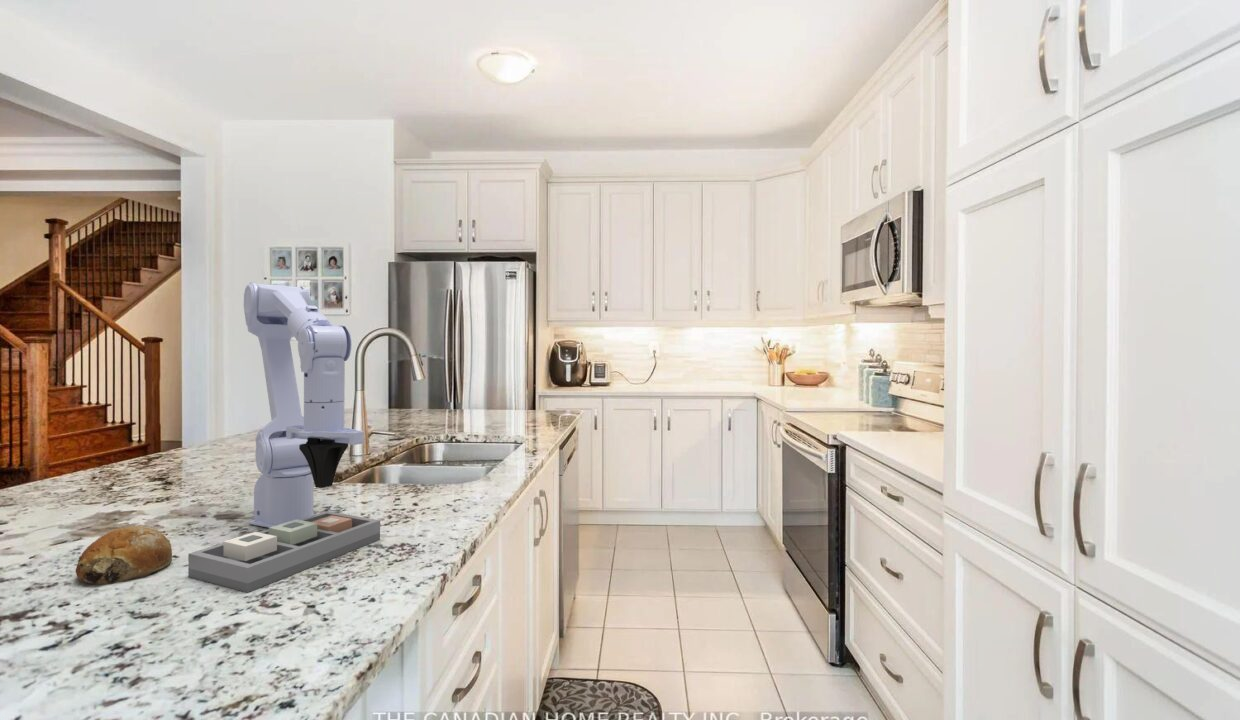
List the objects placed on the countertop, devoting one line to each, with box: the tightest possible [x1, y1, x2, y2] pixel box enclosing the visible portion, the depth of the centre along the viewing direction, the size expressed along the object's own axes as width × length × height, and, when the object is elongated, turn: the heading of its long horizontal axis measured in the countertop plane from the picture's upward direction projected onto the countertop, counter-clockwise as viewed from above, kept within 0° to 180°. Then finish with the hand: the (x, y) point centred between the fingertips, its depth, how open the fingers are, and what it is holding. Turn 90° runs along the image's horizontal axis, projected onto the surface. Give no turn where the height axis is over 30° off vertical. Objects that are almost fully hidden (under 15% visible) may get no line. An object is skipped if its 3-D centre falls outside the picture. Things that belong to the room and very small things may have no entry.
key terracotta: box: [313, 515, 352, 533], centre depth 90 cm, size 4×4×2 cm
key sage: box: [268, 519, 317, 545], centre depth 84 cm, size 4×4×2 cm
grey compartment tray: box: [187, 510, 381, 593], centre depth 84 cm, size 12×22×3 cm, turn 158°
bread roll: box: [75, 525, 173, 585], centre depth 78 cm, size 10×10×8 cm
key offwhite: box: [223, 531, 277, 561], centre depth 78 cm, size 4×4×2 cm
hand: (324, 486), depth 89 cm, fingers closed
